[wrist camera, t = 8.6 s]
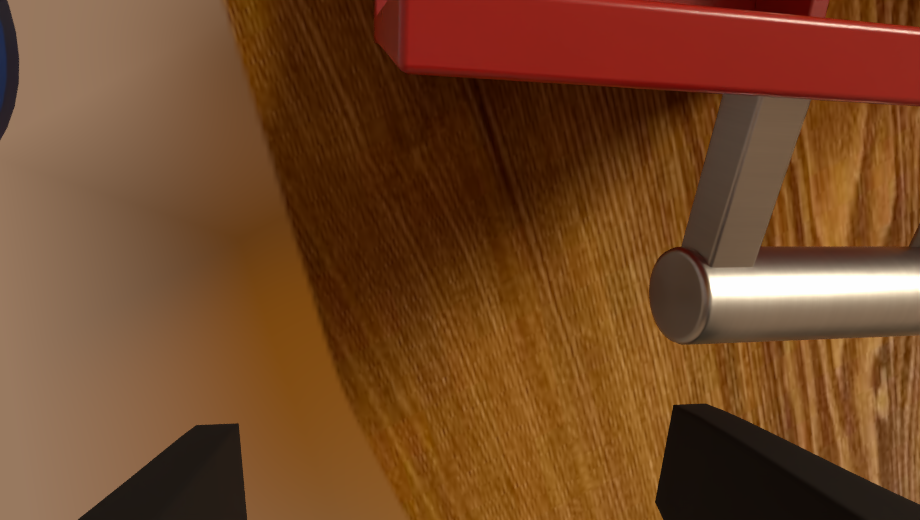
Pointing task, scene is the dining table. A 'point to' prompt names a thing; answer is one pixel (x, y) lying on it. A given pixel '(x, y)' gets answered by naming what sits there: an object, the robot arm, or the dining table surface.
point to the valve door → (731, 146)
